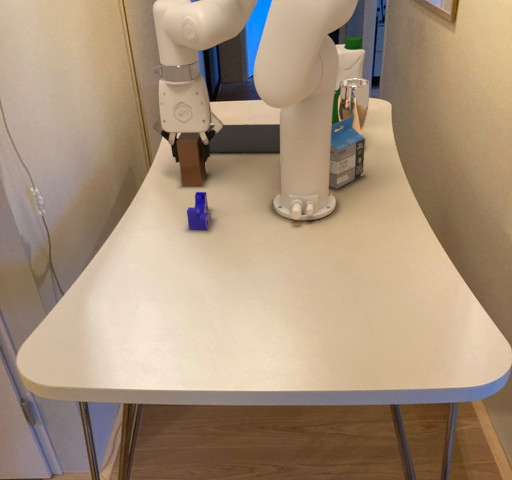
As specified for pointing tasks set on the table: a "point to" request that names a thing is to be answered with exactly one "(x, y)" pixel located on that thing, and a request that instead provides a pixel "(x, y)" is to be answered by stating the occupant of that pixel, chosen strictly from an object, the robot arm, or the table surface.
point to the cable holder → (199, 213)
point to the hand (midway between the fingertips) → (192, 159)
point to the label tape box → (345, 154)
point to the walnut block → (191, 159)
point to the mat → (246, 139)
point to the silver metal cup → (353, 101)
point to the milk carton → (348, 66)
